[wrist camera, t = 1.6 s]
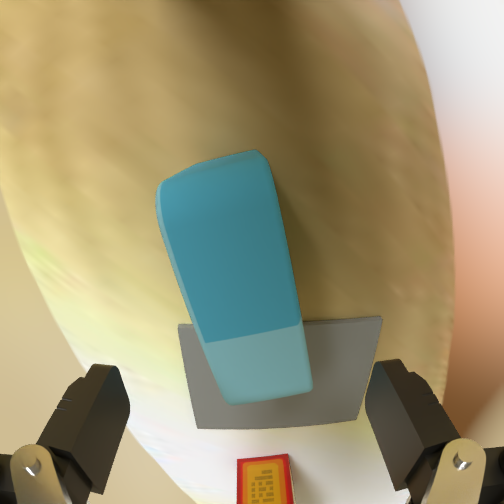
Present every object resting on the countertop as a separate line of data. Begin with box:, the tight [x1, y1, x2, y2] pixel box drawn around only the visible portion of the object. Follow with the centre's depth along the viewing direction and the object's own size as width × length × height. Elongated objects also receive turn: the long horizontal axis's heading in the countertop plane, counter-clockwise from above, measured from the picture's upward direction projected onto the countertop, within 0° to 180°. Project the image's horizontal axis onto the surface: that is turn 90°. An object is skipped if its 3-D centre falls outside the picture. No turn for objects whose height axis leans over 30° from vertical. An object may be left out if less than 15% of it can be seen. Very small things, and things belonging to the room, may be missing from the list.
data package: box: [155, 150, 313, 406], centre depth 18 cm, size 12×4×12 cm, turn 13°
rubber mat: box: [178, 316, 382, 429], centre depth 29 cm, size 14×18×1 cm
